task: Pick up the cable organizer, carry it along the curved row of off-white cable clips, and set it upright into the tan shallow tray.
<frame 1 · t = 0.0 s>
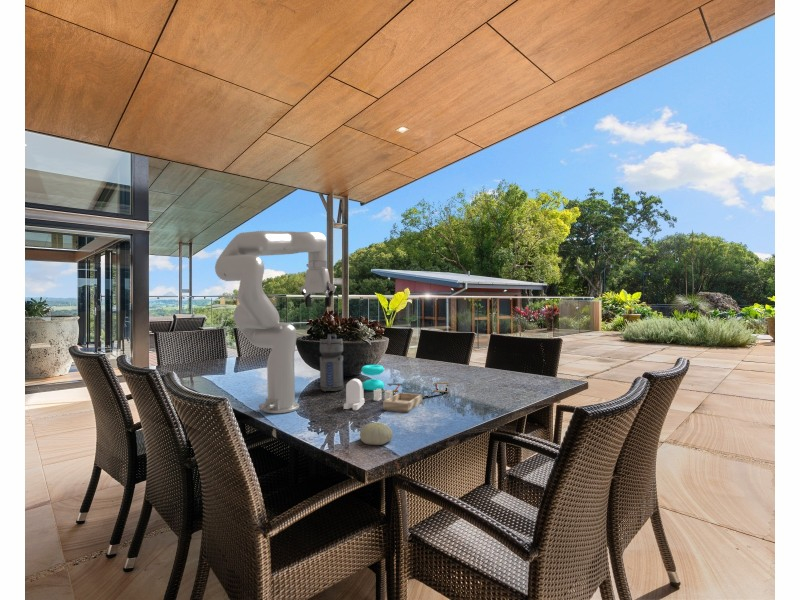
hand: (318, 306, 169), 37 cm above the table, tool pointing down, fingers open, 9 cm apart
cable organizer: (354, 406, 150), on the table
cable clips: (377, 399, 159), on the table
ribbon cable: (415, 392, 173), on the table
donuts: (372, 388, 180), on the table
beverage bottle: (332, 389, 179), on the table
sea urchin shell: (376, 442, 113), on the table
tan shallow tray: (403, 406, 150), on the table
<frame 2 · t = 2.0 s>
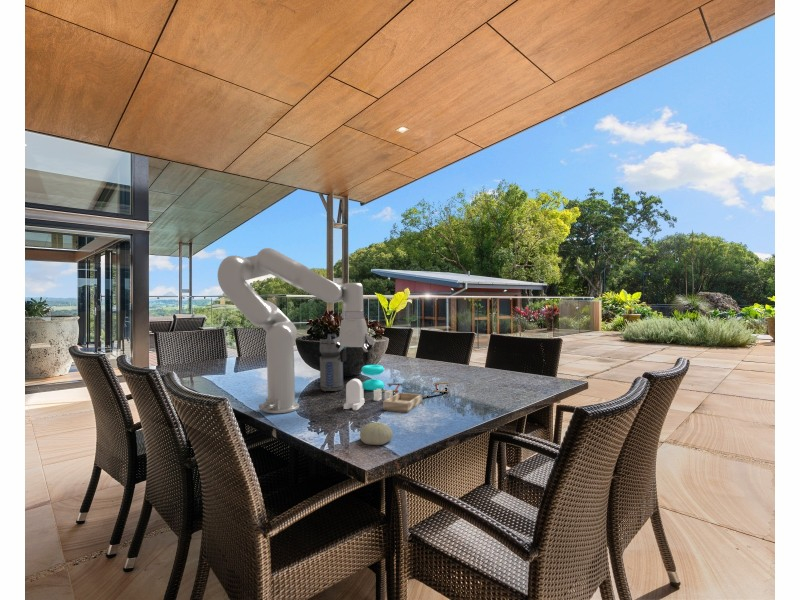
hand: (354, 361, 150), 16 cm above the table, tool pointing down, fingers open, 9 cm apart
nothing on the table moved.
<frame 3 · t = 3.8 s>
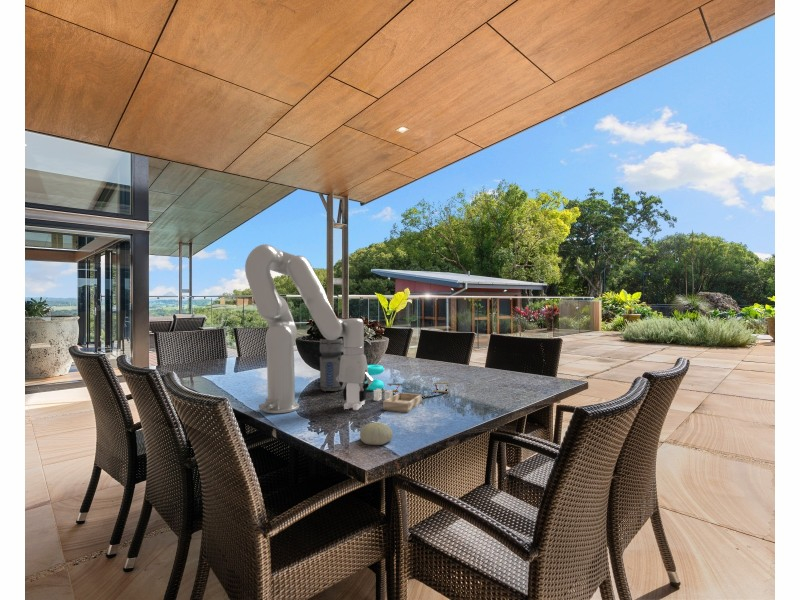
hand: (354, 399, 150), 2 cm above the table, tool pointing down, fingers closed on cable organizer, 5 cm apart
cable organizer: (354, 406, 150), on the table, touching gripper
everything else where it was.
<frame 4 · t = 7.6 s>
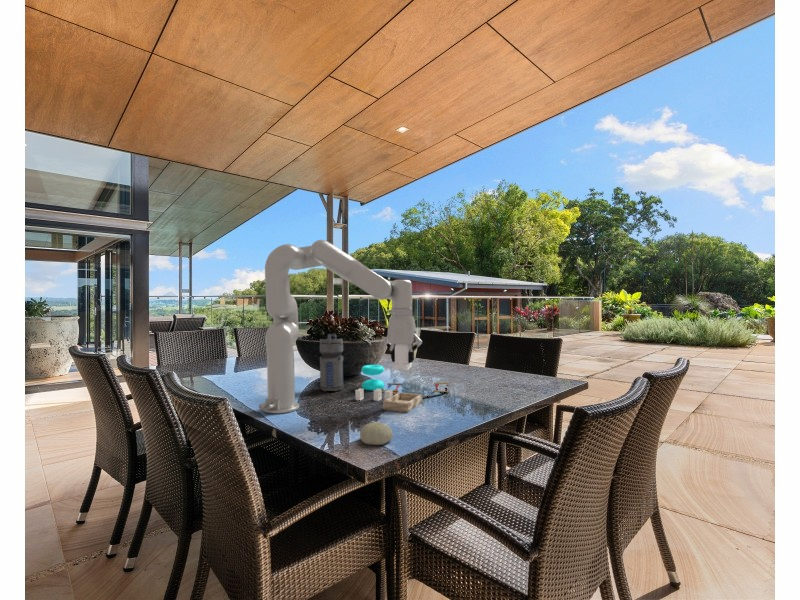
hand: (402, 361, 150), 17 cm above the table, tool pointing down, fingers closed on cable organizer, 5 cm apart
cable organizer: (402, 368, 150), point 14 cm above the table, touching gripper
everything else where it was.
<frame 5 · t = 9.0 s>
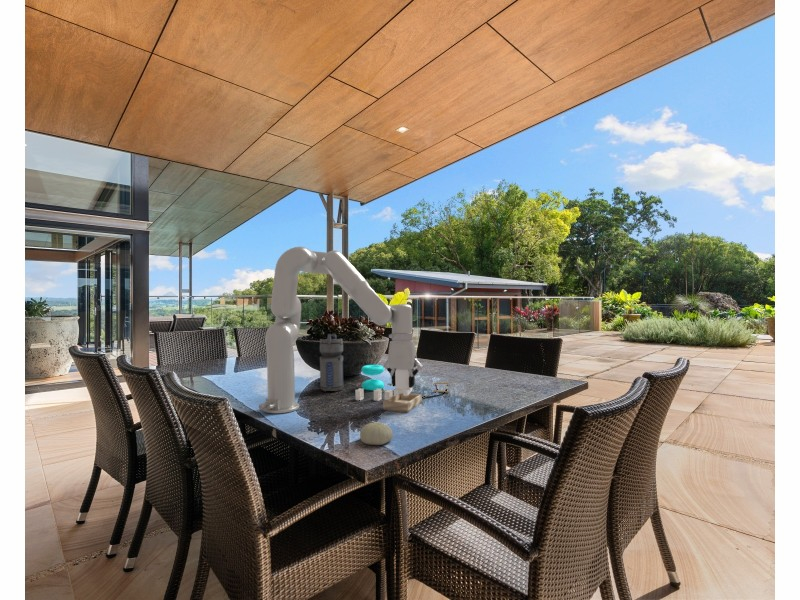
hand: (403, 385, 150), 7 cm above the table, tool pointing down, fingers closed on cable organizer, 5 cm apart
cable organizer: (403, 392, 150), point 5 cm above the table, touching gripper
everything else where it was.
when the fingers open (4 cm above the table, at t = 10.1 s): cable organizer drops 1 cm, resting on tan shallow tray.
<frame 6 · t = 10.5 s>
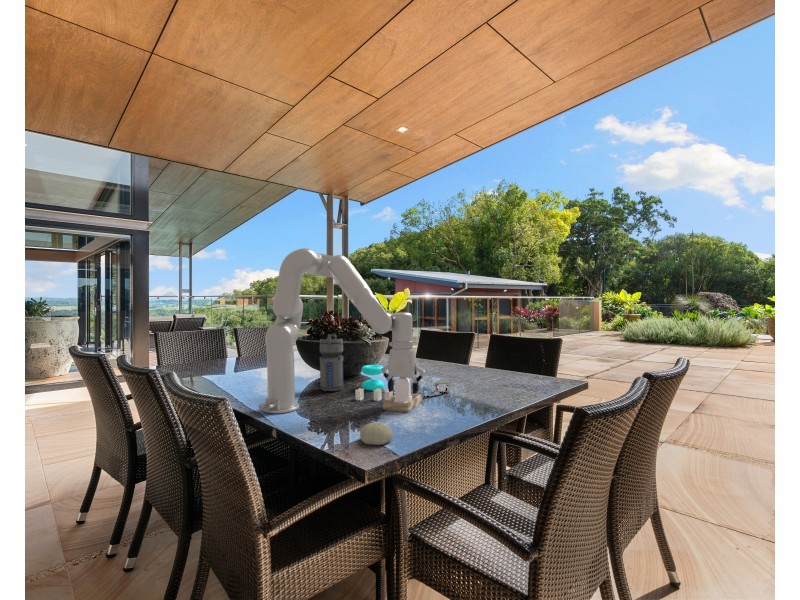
hand: (403, 392, 150), 5 cm above the table, tool pointing down, fingers open, 9 cm apart
cable organizer: (402, 404, 150), resting on tan shallow tray
everything else where it was.
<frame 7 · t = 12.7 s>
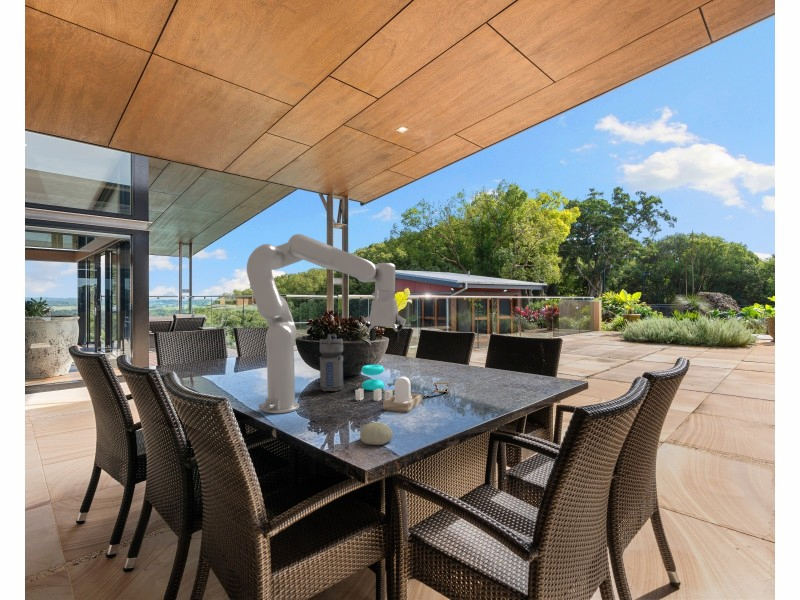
hand: (384, 341, 152), 24 cm above the table, tool pointing down, fingers open, 9 cm apart
nothing on the table moved.
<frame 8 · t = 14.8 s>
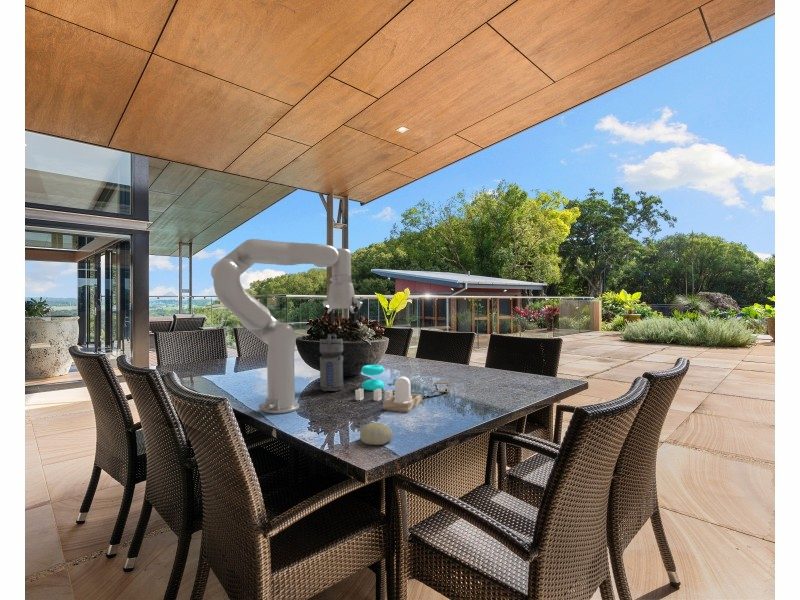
hand: (342, 323, 160), 30 cm above the table, tool pointing down, fingers open, 9 cm apart
nothing on the table moved.
at the end: cable organizer 0.2 cm off-centre on the tan shallow tray, point 0.4 cm above the tan shallow tray's base; cable organizer tilted 0°; the gripper is holding nothing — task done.
